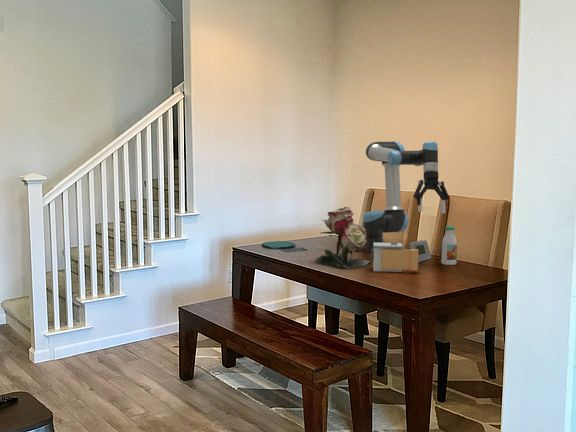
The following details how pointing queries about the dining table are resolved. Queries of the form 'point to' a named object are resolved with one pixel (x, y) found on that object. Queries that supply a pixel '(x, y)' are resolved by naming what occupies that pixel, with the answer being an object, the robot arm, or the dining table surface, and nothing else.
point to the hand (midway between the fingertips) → (432, 212)
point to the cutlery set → (282, 246)
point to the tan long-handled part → (400, 259)
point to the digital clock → (421, 250)
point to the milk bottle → (449, 247)
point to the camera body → (377, 255)
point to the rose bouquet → (344, 240)
